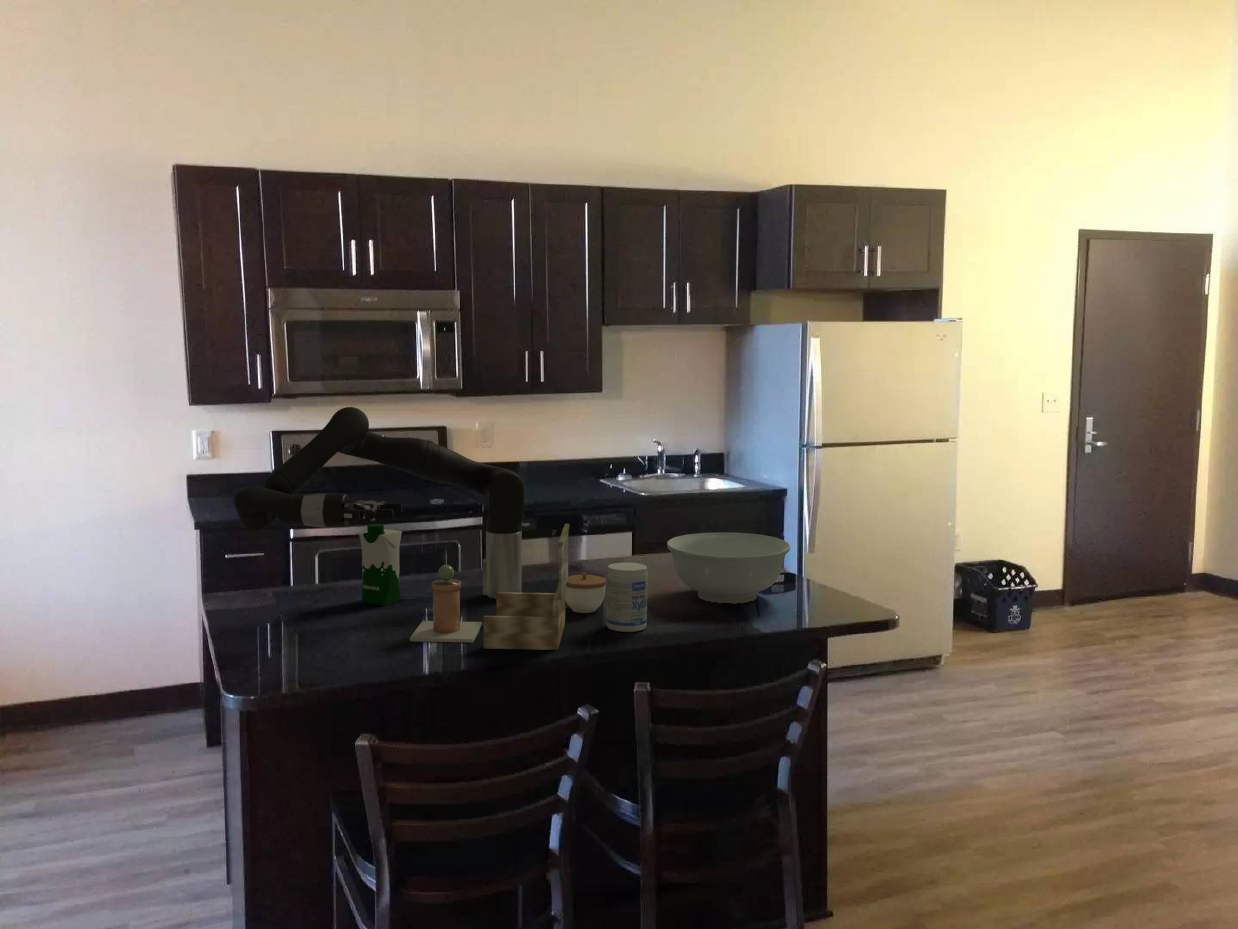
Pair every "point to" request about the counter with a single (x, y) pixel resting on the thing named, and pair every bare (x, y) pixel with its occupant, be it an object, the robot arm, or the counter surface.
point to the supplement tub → (627, 597)
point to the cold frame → (530, 614)
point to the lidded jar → (585, 592)
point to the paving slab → (463, 635)
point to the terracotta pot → (446, 601)
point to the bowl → (728, 564)
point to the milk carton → (380, 565)
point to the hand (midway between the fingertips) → (397, 511)
